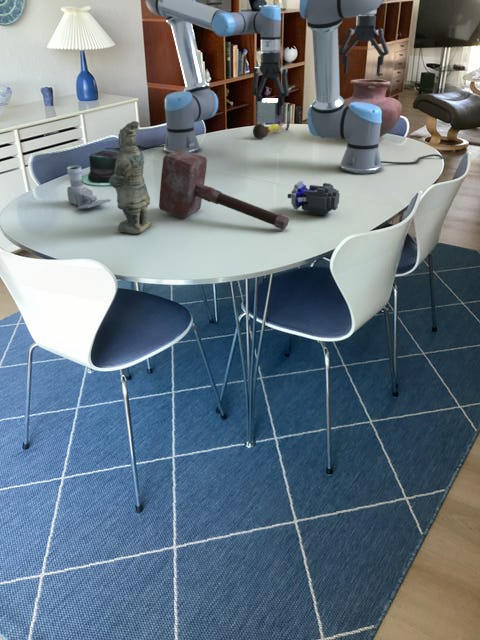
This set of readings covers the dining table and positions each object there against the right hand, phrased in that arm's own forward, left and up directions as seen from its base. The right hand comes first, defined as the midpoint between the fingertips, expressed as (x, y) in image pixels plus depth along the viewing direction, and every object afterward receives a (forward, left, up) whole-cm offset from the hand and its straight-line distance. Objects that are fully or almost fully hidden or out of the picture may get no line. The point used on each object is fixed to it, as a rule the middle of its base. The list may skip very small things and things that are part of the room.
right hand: (361, 73), depth 231 cm
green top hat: (+99, +47, -29) cm, 113 cm away
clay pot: (-6, -11, -29) cm, 32 cm away
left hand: (+38, +17, -13) cm, 44 cm away
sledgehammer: (+54, +94, -29) cm, 112 cm away
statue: (+80, +100, -29) cm, 131 cm away
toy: (+27, +88, -29) cm, 96 cm away
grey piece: (+99, +79, -29) cm, 130 cm away
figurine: (+37, -23, -29) cm, 53 cm away
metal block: (+38, +17, -15) cm, 45 cm away
